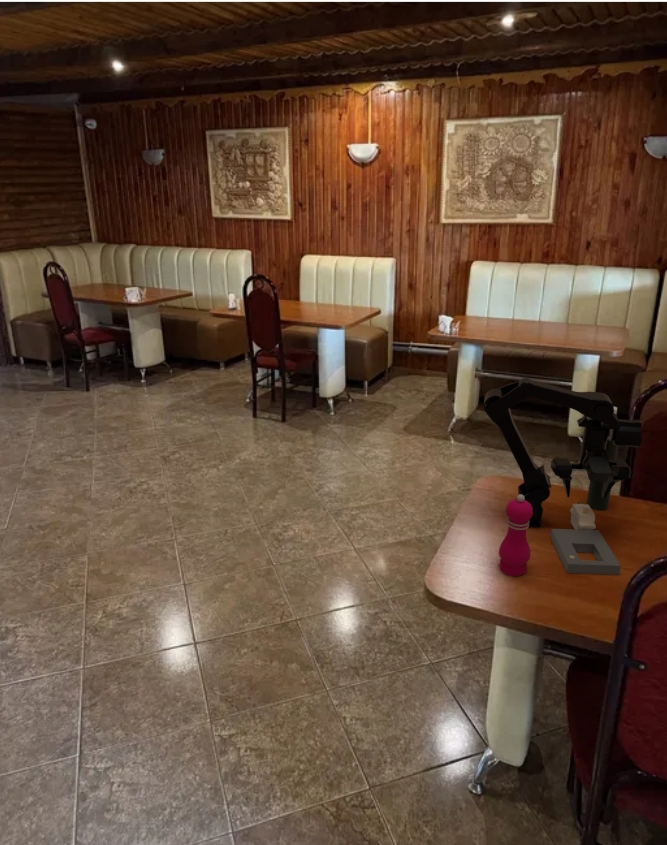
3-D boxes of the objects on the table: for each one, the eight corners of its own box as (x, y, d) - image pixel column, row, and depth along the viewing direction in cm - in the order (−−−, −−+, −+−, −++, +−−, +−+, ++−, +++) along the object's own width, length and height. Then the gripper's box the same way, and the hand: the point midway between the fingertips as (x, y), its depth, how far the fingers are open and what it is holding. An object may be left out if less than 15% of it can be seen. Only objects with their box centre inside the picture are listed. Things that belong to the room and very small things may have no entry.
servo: (578, 536, 165) (581, 515, 163) (568, 518, 174) (571, 498, 171) (594, 536, 165) (597, 515, 162) (583, 518, 173) (586, 498, 171)
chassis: (567, 572, 150) (568, 563, 149) (550, 537, 165) (551, 528, 164) (618, 574, 149) (620, 565, 148) (597, 538, 164) (598, 529, 163)
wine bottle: (590, 510, 177) (606, 410, 166) (583, 500, 183) (598, 403, 172) (611, 510, 177) (628, 410, 166) (603, 500, 183) (619, 403, 172)
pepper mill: (491, 564, 153) (498, 491, 146) (515, 557, 156) (523, 485, 149) (510, 580, 147) (518, 504, 140) (534, 573, 150) (544, 498, 142)
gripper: (565, 454, 153) (557, 511, 159) (644, 456, 152) (633, 513, 158) (553, 437, 164) (546, 490, 169) (627, 439, 162) (617, 492, 168)
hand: (585, 497), depth 166 cm, fingers open, 9 cm apart
